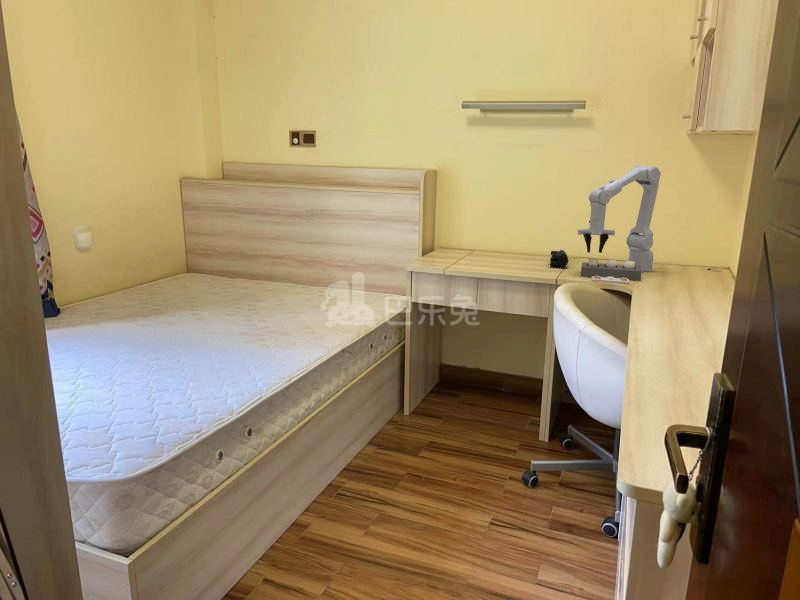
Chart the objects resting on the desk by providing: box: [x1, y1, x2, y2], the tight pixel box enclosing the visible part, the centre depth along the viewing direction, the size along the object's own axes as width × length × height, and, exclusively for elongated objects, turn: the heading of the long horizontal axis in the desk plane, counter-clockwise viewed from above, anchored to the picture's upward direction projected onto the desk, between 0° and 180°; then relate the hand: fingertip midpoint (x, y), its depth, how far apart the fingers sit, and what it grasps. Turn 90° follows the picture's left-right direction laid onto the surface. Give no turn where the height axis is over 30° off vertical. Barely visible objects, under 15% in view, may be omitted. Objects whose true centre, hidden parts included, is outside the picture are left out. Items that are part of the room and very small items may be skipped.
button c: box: [587, 257, 600, 267], centre depth 251 cm, size 4×4×4 cm
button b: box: [605, 259, 617, 268], centre depth 249 cm, size 4×4×4 cm
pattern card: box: [591, 275, 630, 285], centre depth 241 cm, size 14×6×2 cm, turn 72°
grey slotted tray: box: [580, 261, 643, 282], centre depth 250 cm, size 23×11×4 cm, turn 72°
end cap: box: [549, 249, 569, 269], centre depth 268 cm, size 10×7×7 cm
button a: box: [623, 260, 635, 269], centre depth 247 cm, size 4×4×4 cm
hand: (594, 252), depth 250 cm, fingers open, 4 cm apart
